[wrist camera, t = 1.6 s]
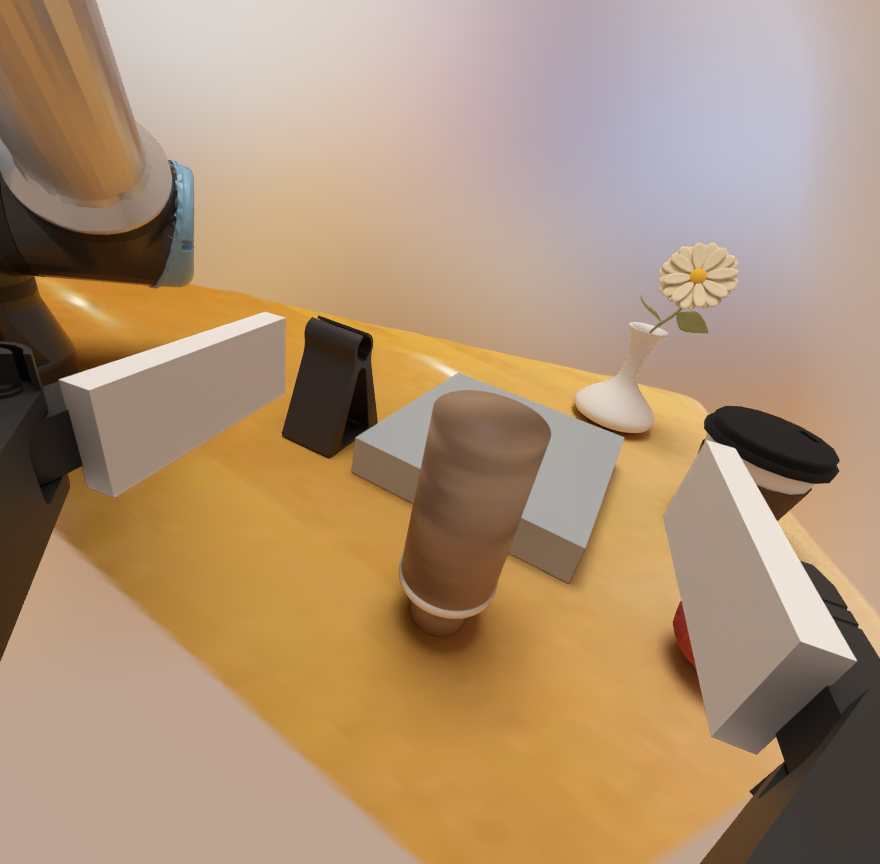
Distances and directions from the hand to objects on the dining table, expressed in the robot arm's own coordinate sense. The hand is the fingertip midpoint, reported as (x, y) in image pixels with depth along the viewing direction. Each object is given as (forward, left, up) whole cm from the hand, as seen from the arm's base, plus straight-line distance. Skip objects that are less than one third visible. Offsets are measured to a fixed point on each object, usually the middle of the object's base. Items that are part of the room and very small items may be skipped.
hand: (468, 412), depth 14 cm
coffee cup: (-9, +38, -21) cm, 44 cm away
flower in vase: (-30, +43, -21) cm, 56 cm away
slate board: (-22, +19, -21) cm, 36 cm away
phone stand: (-31, +3, -21) cm, 38 cm away
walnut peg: (-7, +6, -21) cm, 22 cm away
